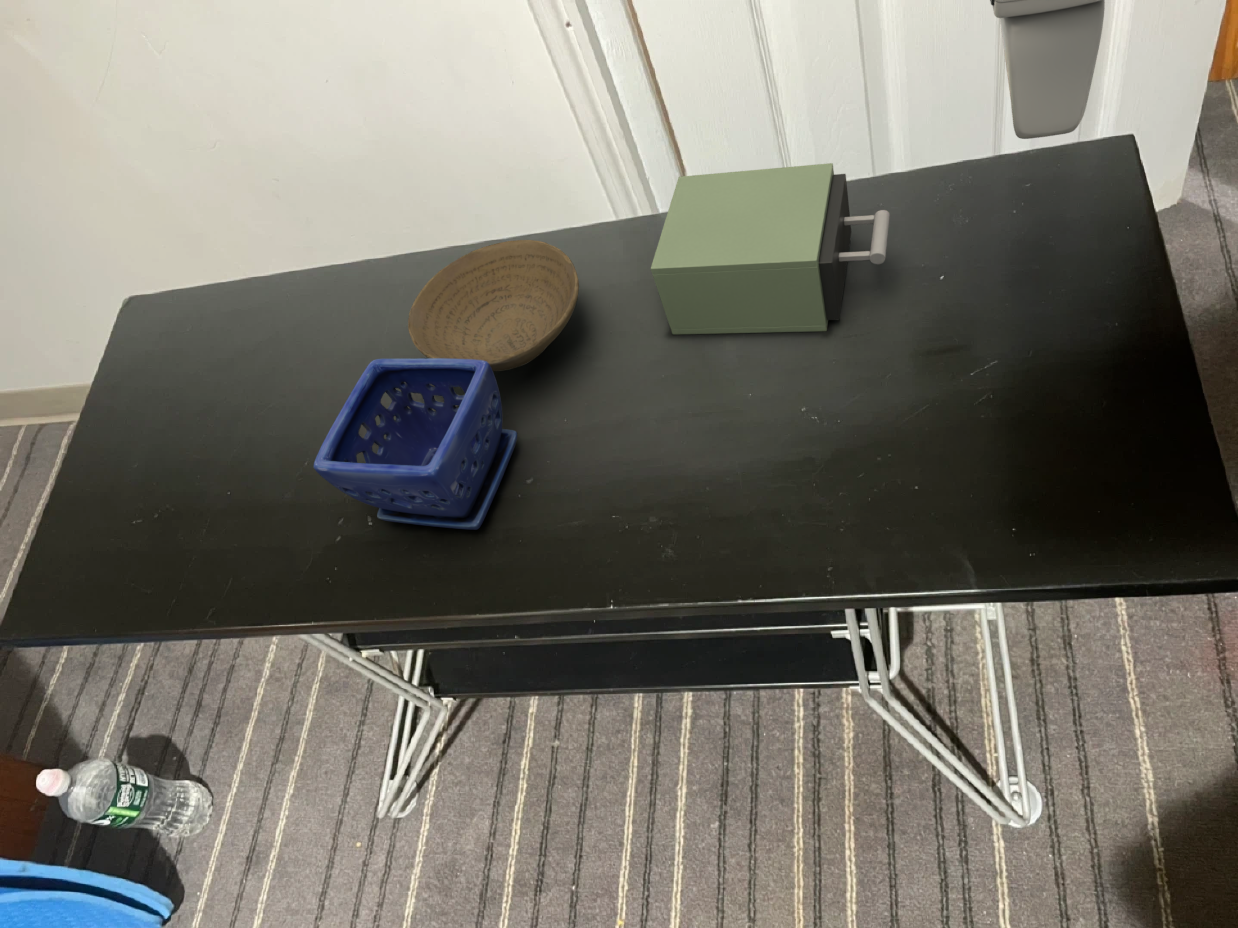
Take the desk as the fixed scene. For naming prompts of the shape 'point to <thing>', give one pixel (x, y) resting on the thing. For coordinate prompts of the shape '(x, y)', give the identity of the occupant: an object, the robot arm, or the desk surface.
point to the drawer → (845, 244)
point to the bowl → (496, 304)
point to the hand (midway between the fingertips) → (1027, 115)
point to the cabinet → (745, 251)
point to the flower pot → (421, 442)
